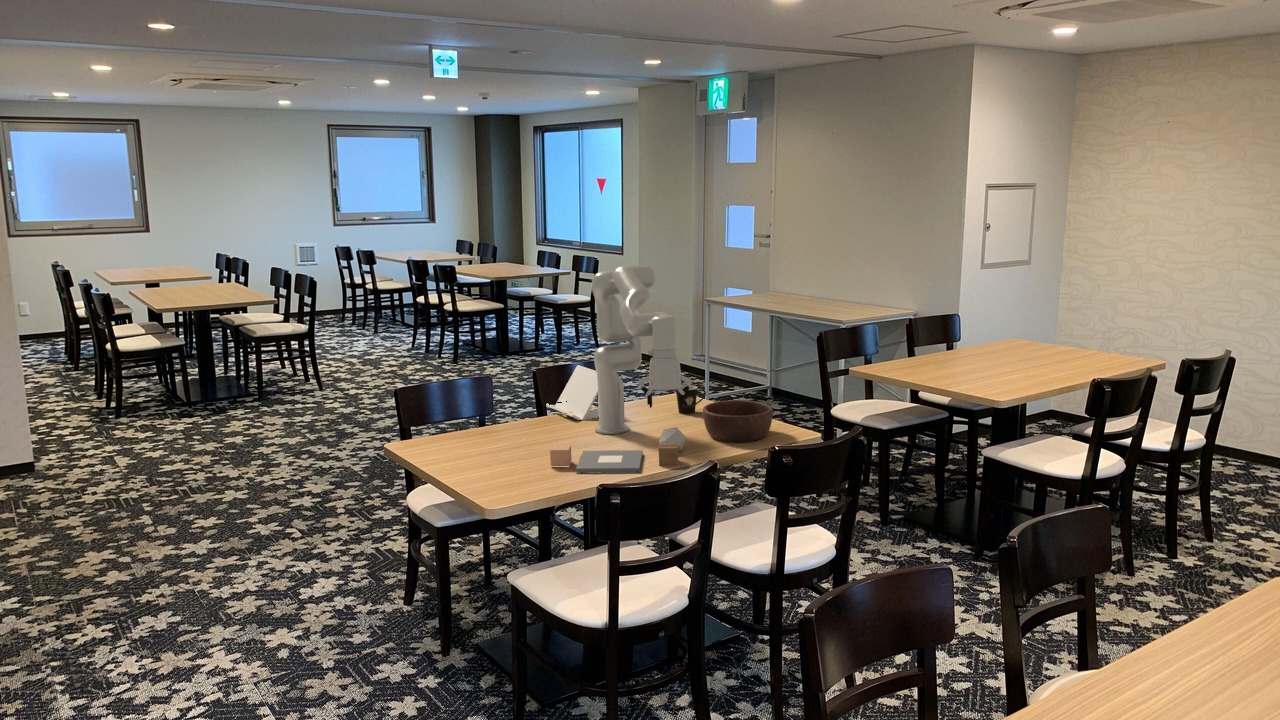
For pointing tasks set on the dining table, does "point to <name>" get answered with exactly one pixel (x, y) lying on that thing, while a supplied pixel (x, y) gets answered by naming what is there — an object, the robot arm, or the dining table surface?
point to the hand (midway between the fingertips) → (665, 406)
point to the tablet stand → (579, 395)
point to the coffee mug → (689, 400)
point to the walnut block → (668, 454)
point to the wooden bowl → (738, 420)
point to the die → (673, 437)
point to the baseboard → (610, 461)
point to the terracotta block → (560, 455)
